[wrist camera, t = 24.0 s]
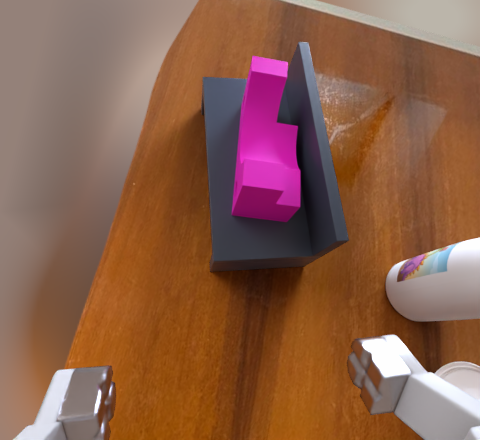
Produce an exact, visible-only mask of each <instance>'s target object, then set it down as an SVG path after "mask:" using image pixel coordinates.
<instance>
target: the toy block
mask: <svg viewBox="0 0 480 440" xmlns="http://www.w3.org/2000/svg"><path fill="white" fill-rule="evenodd" d="M287 72H288V62H283V61H278V60H272V59H267V58H262V57H256V56H253V57H252V62H251V66H250V70H249V75H248V79H247V83H246V88H245V92H244V96H243V101H242V105H241V116H240V127H239V138H238V150H237V161H236V172H235V183H234V194H233V205H232V215H233V216H241V217H249V218H257V219H265V220H273V221H281V222H288V220H289V219H290V218H291V217H292V216H293V215H294V214H295V212H296V211H297V210H298V209H299V208H300V169H299V167H298V165H297V159H296V138H297V130H298V126H295V125H289V124H282V123H276V122H277V116H278V111H279V106H280V102H281V97H282V93H283V90H284V86H285V83H286V80H287Z"/></svg>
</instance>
